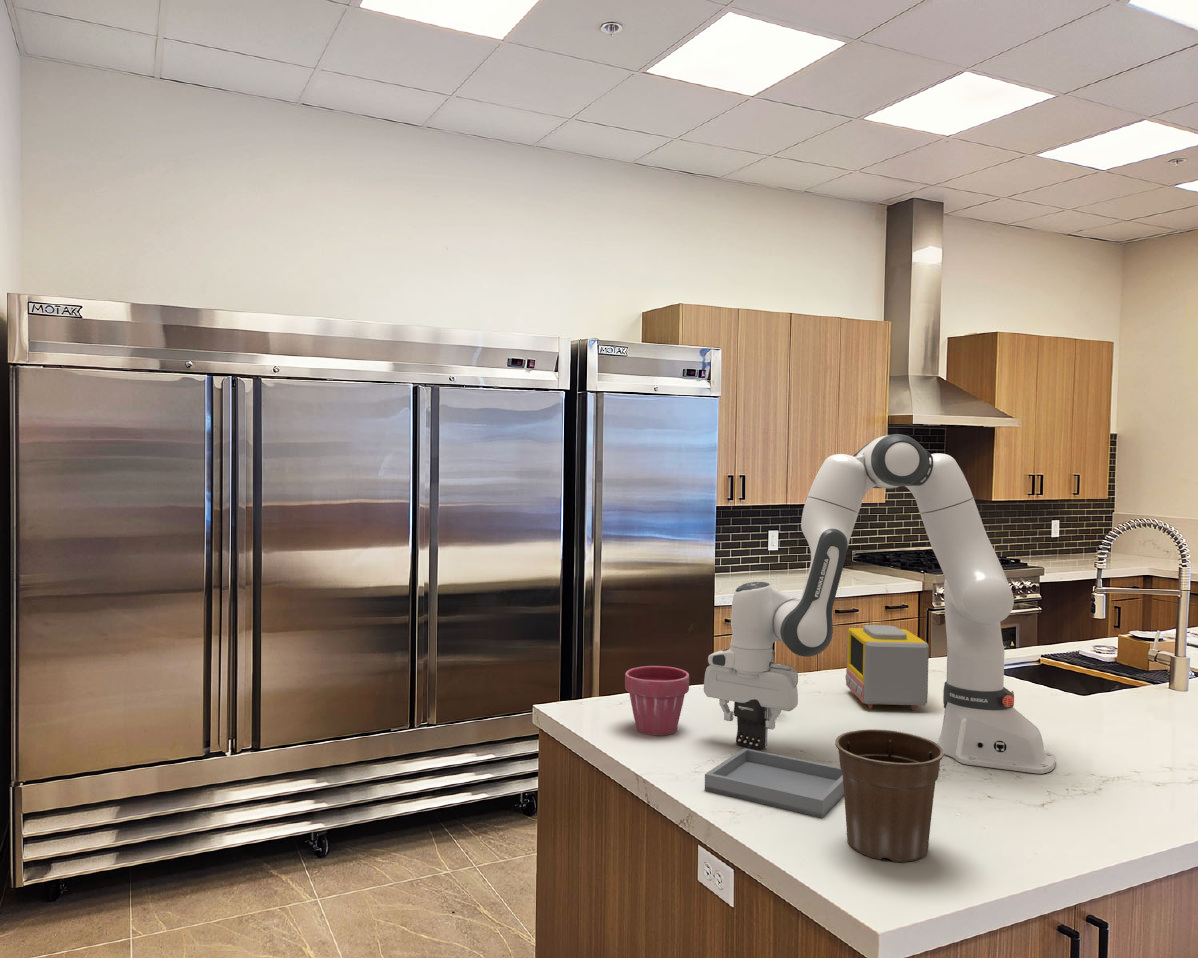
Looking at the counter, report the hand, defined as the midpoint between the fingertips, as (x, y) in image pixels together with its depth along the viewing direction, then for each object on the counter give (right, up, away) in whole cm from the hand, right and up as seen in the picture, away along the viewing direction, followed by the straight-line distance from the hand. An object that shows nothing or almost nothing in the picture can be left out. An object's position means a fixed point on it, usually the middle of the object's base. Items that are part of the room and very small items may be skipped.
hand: (749, 724), depth 188 cm
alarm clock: (+40, -5, +37) cm, 55 cm away
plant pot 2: (+14, -6, -48) cm, 50 cm away
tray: (+2, -5, -24) cm, 24 cm away
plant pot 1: (-19, -4, +11) cm, 22 cm away
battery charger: (0, -5, 0) cm, 5 cm away
